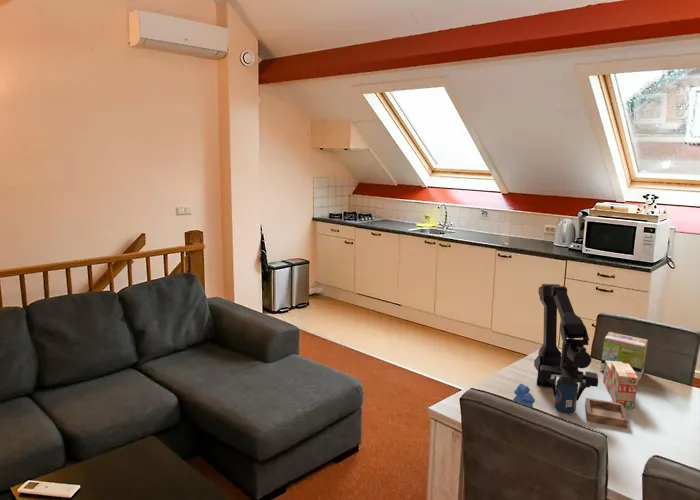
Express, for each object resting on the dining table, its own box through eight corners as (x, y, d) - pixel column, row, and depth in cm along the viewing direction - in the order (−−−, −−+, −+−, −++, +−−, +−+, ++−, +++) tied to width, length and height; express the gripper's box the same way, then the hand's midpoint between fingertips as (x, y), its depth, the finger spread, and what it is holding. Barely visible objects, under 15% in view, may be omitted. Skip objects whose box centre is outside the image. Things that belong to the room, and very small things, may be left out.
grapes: (541, 425, 181) (544, 391, 179) (521, 425, 180) (524, 392, 178) (526, 408, 192) (529, 376, 190) (508, 408, 192) (510, 377, 189)
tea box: (599, 371, 224) (603, 337, 221) (604, 363, 232) (608, 330, 229) (640, 381, 215) (645, 346, 212) (643, 372, 223) (648, 338, 220)
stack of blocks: (602, 382, 214) (605, 352, 212) (619, 383, 213) (623, 354, 211) (615, 407, 194) (619, 375, 191) (634, 409, 193) (638, 377, 190)
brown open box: (586, 421, 184) (587, 413, 183) (585, 404, 195) (585, 397, 195) (627, 428, 180) (628, 420, 179) (623, 411, 191) (624, 404, 190)
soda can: (552, 405, 195) (554, 373, 192) (571, 406, 194) (575, 374, 192) (557, 414, 188) (560, 382, 186) (578, 415, 187) (581, 383, 185)
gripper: (540, 360, 183) (536, 403, 186) (601, 369, 176) (596, 413, 179) (541, 349, 193) (538, 389, 196) (599, 357, 187) (594, 399, 190)
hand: (566, 398), depth 190 cm, fingers closed on soda can, 7 cm apart
